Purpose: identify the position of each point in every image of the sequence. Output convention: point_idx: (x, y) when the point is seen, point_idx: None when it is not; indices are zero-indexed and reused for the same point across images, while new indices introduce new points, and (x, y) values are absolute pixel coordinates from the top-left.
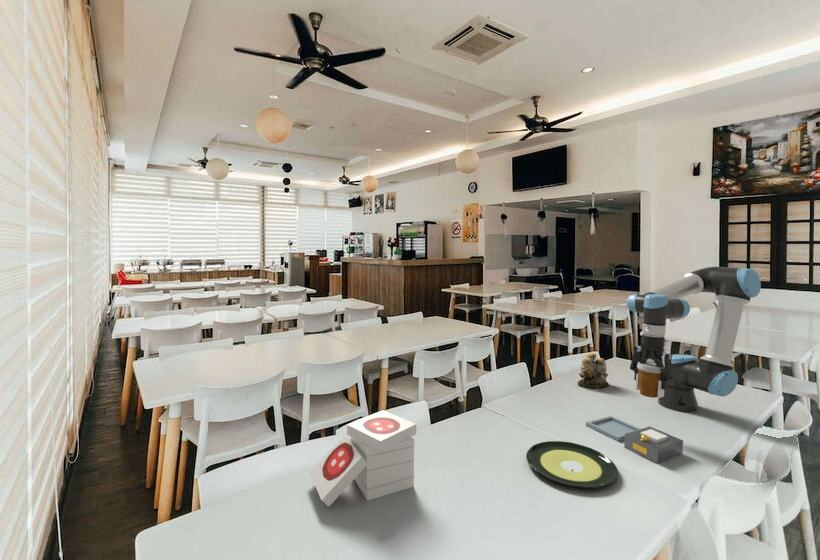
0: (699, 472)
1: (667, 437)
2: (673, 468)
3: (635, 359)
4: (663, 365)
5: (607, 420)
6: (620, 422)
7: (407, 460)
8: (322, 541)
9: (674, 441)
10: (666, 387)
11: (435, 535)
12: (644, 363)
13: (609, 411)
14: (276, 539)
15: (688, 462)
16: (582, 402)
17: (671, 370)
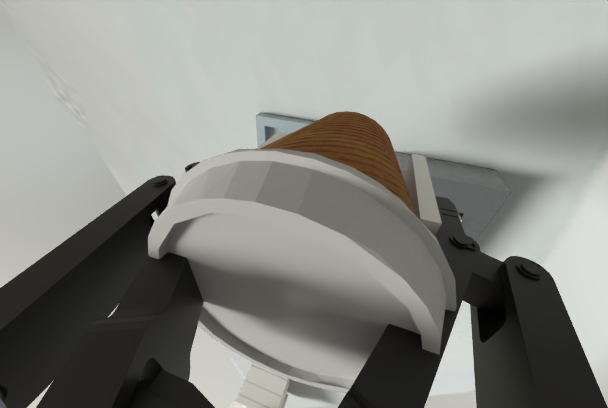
0: (546, 230)
1: (460, 218)
2: (480, 247)
3: (120, 293)
4: (432, 378)
5: (268, 137)
6: (295, 130)
7: (281, 399)
8: (309, 402)
9: (482, 216)
10: (454, 209)
11: (340, 395)
12: (205, 284)
13: (219, 53)
14: (297, 403)
15: (515, 202)
16: (150, 65)
17: (579, 395)
